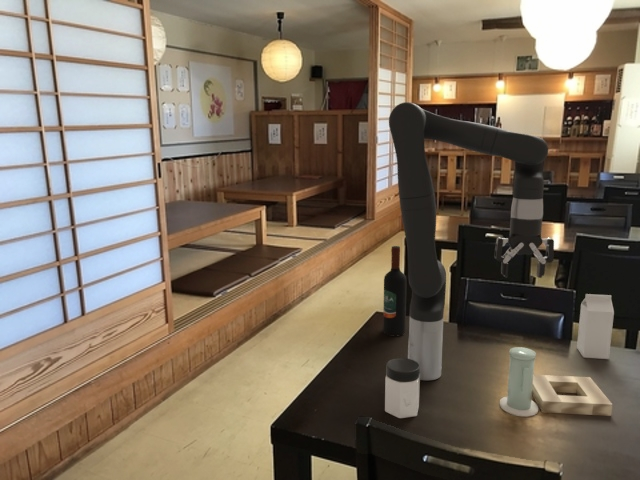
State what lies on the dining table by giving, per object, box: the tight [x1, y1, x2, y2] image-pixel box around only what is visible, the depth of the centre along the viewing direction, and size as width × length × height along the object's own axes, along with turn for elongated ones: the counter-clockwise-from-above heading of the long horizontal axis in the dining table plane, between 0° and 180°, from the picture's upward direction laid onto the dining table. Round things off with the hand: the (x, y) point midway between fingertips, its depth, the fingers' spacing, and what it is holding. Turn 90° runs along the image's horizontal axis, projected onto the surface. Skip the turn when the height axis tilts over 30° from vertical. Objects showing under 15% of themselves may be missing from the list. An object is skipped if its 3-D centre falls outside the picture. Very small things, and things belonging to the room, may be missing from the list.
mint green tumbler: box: [506, 346, 537, 410], centre depth 127 cm, size 6×8×14 cm
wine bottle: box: [382, 245, 408, 337], centre depth 174 cm, size 8×8×30 cm
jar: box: [384, 357, 421, 419], centre depth 127 cm, size 9×8×12 cm
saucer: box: [499, 395, 539, 418], centre depth 129 cm, size 9×9×1 cm
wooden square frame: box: [532, 374, 613, 417], centre depth 132 cm, size 16×14×3 cm
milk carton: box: [576, 293, 615, 360], centre depth 156 cm, size 7×7×19 cm
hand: (522, 276), depth 135 cm, fingers open, 8 cm apart
